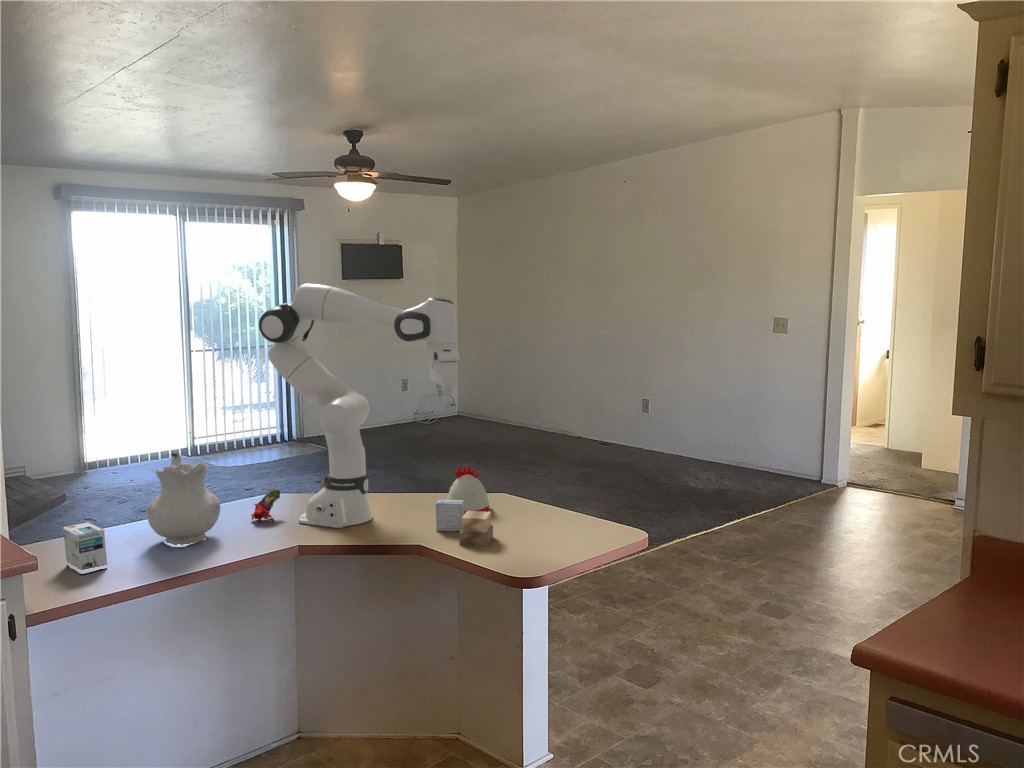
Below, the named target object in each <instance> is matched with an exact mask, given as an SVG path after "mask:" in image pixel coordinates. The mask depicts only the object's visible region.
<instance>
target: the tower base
mask: <svg viewBox="0 0 1024 768" xmlns="http://www.w3.org/2000/svg"><path fill="white" fill-rule="evenodd" d="M458 533H459V534H458V535H459V536H458V542H459V544H461V545H460V546H468V545H479V546H478V547H486V546H487V547H488V546H489V545H488V544H490V543H491V542H492V540H493V538H494V525H493V524H491V526H490V528H489V529H488V531H487V532H486V533H478V532H462V529H461V531H460V532H458ZM491 539H492V540H491ZM490 541H491V542H490ZM459 544H458V545H459Z"/></svg>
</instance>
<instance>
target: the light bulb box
mask: <svg viewBox="0 0 1024 768" xmlns="http://www.w3.org/2000/svg"><path fill="white" fill-rule="evenodd" d="M62 530H63V540H64V541H63V542H64V552H65V562H66V561H67V562H68V563H70V564H71V565H73V566H75V567H77V568H78V569H80V570H84V569H89V568H95V567H100V566H104V565H107V566H108V558H107V549H106V548H107V547H106V537H105V536H106V535H105V529H103V528H101V527H99V526H96V525H95V524H93V523H91V522H88V521H87V522H83V523H77V524H73V525H68V526H64V527H62Z"/></svg>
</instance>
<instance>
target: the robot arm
mask: <svg viewBox="0 0 1024 768" xmlns="http://www.w3.org/2000/svg"><path fill="white" fill-rule="evenodd" d="M456 311H457V310H456V306H455V303H454V302H453V301H452V300H451V299H448V298H443V297H437V296H431V297H428V298H427V299H426V300H425V301H424V302H421V304H418V305H416V306H413V307H411V308H402V307H396V306H392V305H388V304H383V303H378V302H375V301H373V300H370V299H368V298H365V297H363V296H360V295H358V294H355V293H353V292H351V291H349V290H345V289H343V288H339V287H336V286H333V285H332V286H331V285H327V284H326V285H325V284H319V283H303V284H301V285H300V286H298V287H297V288H296V290H295V292H294V295H293V299H292V301H291V302H284V303H281V304H279V305H277V306H273V307H270V308H269V309H267V310H266V311H265V312H264V313H262V315H261V316H260V318H259V321H258V329H259V332H260V334H261V336H262V337H263V338H264V339H265V340H267V341H268V342H271V343H272V344H271V346H270V348H269V349H268V354H267V357H268V360H269V362H270V363H271V364H272V366H273V367H274V368H275V370H276V371H277V372H278V374H279V375H280V376H281V377H282V379H284V380H285V381H286V382H287V383H288V384H289V385H290V386H291V387H292V388H293V389H294V390H295V391H296V392H297V393H298V395H299V394H300V395H301V397H302V398H304V400H306V401H308V402H310V403H312V404H314V405H315V406H316V407H319V408H320V409H321V411H320V413H319V418H318V421H319V424H320V426H321V428H322V429H323V433H324V436H325V441H326V444H327V450H328V465H329V473H328V474H327V475H326V476H324V478H323V479H322V480H321V481H322V484H324V487H322V489H321V490H319V491H318V492H316V493H315V494H314V495H313V496H312V497H311V498H309V500H308V501H307V505H306V509H305V510H306V511H305V512H304V513H302V514H301V515H300V516H299V518H298V523H299V524H302V525H303V524H304V525H312V526H319V527H327V528H328V527H329V528H334V529H335V528H336V529H340V528H345V527H349V526H354V525H360V524H365V523H367V522H369V521H371V520H373V518H374V515H373V513H372V510H371V506H370V503H369V502H370V501H369V495H368V491H369V479H368V473H367V470H366V469H367V466H366V464H367V463H366V449H365V446H364V444H363V440H362V436H361V430H360V429H361V428H360V427H361V425H363V424H364V423H365V421H366V420H367V418H368V417H369V414H370V411H371V410H370V403H369V401H368V399H367V398H366V397H365V396H364V395H362V394H360V393H358V392H357V391H356V390H354V389H352V387H350V386H349V385H347V384H346V383H345V382H343V381H342V380H340V379H339V378H337V377H336V376H335V375H333V374H332V373H331V372H330V371H329V370H328V369H327V368H326V367H325V366H324V365H323V364H322V363H321V362H320V361H319V360H318V359H317V358H316V357H315V356H314V355H313V354H312V353H311V352H309V350H307V348H306V347H305V346H304V343H303V342H304V341H306V340H307V339H308V337H309V334H310V332H311V330H312V328H313V326H314V324H315V321H317V322H321V323H325V324H329V325H334V326H342V327H343V326H347V327H349V326H358V325H365V324H370V325H371V324H375V325H381V326H384V327H390V328H393V331H394V332H395V334H396V336H397V337H398V338H399V340H402V341H403V342H404V341H405V342H408V343H414V342H419V341H426V352H427V360H430V365H429V368H430V369H429V370H430V372H429V373H430V374H429V376H430V381H431V382H434V386H435V391H436V397H437V398H439V399H441V398H443V401H444V402H445V403H449V402H451V399H452V398H451V396H452V391H453V388H456V387H457V386H458V375H459V363H458V362H459V361H460V360H461V359H460V358H461V356H460V353H459V351H458V349H459V348H458V339H457V335H456V334H457V329H458V328H457V327H458V325H457V323H458V322H457V312H456Z"/></svg>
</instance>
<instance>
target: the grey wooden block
mask: <svg viewBox="0 0 1024 768" xmlns="http://www.w3.org/2000/svg"><path fill="white" fill-rule="evenodd" d="M463 516H464V500H447V499H438V500H437V501H436V503H435V521H436V524H435V526H436V528H435V529H436V530H439V531H438V532H456V531H461V529H462V519H461V518H462V517H463ZM436 530H435V531H436Z"/></svg>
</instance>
